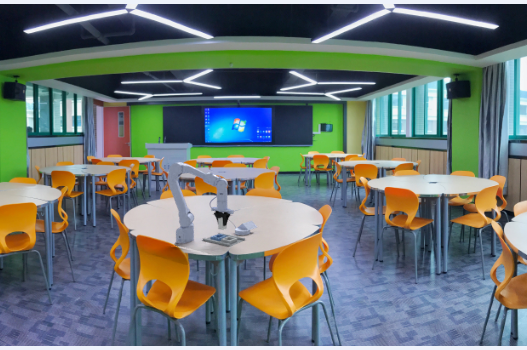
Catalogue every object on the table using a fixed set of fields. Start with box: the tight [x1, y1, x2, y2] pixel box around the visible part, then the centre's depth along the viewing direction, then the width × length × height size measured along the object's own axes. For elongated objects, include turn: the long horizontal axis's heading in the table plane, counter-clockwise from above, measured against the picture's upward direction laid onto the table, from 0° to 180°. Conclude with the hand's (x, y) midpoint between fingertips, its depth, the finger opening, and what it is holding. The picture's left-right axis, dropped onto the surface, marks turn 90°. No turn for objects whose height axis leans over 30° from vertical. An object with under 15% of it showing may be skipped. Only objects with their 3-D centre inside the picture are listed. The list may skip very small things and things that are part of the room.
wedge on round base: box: [234, 220, 258, 236], centre depth 205 cm, size 9×7×13 cm
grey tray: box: [202, 232, 246, 248], centre depth 190 cm, size 14×20×3 cm
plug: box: [217, 217, 228, 231], centre depth 189 cm, size 3×3×6 cm
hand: (222, 225), depth 189 cm, fingers closed on plug, 3 cm apart
